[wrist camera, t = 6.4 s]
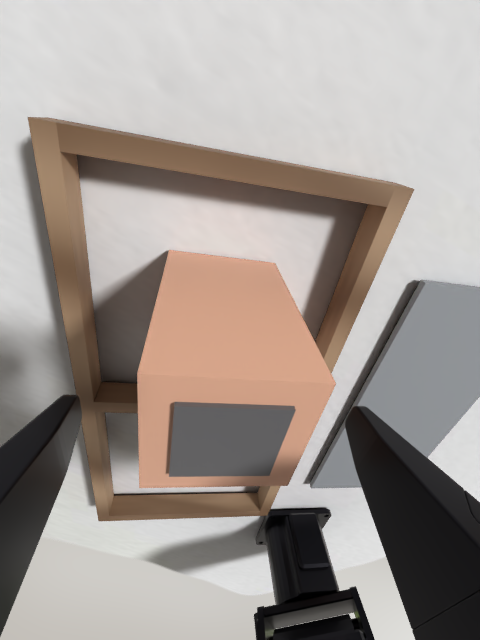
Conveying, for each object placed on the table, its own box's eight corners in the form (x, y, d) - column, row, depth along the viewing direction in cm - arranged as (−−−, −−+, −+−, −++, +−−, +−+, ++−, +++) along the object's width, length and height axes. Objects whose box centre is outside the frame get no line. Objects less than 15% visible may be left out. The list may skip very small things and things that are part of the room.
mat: (399, 482, 28) (402, 486, 28) (309, 483, 26) (311, 488, 26) (555, 296, 17) (562, 299, 17) (420, 279, 16) (425, 283, 15)
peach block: (254, 344, 17) (288, 490, 10) (165, 337, 16) (138, 492, 9) (274, 263, 14) (338, 388, 8) (169, 250, 14) (135, 378, 7)
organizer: (264, 497, 27) (267, 515, 26) (104, 500, 24) (98, 521, 23) (394, 182, 13) (414, 189, 12) (48, 117, 10) (27, 117, 9)
